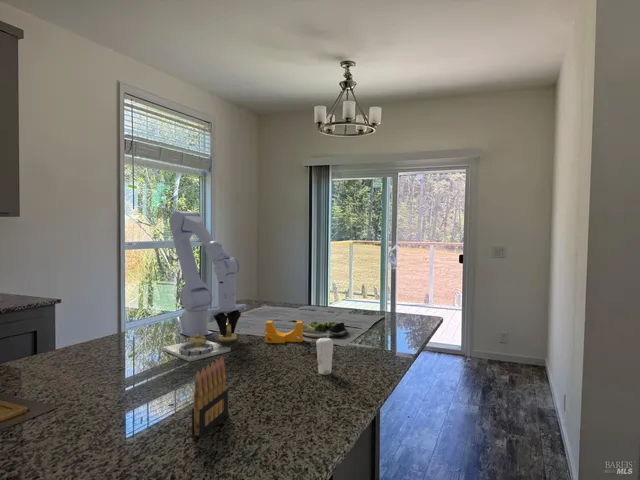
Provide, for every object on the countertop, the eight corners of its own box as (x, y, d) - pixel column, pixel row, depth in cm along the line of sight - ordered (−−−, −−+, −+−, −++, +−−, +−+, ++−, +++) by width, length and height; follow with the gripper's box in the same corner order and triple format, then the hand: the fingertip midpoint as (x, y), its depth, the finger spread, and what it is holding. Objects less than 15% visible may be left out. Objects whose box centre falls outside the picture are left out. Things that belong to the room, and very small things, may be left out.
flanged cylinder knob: (214, 339, 146) (214, 323, 146) (229, 336, 150) (229, 320, 150) (225, 343, 142) (224, 326, 142) (240, 339, 146) (239, 323, 146)
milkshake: (336, 370, 115) (336, 332, 115) (330, 376, 110) (330, 337, 110) (320, 368, 117) (320, 331, 117) (313, 374, 112) (313, 336, 112)
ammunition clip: (220, 412, 89) (219, 354, 89) (228, 413, 89) (228, 355, 89) (191, 436, 79) (190, 371, 79) (200, 437, 79) (199, 372, 78)
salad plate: (295, 341, 145) (295, 327, 145) (290, 329, 163) (290, 316, 163) (351, 339, 148) (351, 325, 148) (340, 327, 166) (340, 315, 166)
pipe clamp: (265, 343, 142) (265, 323, 142) (267, 339, 147) (267, 320, 146) (301, 343, 142) (301, 324, 141) (302, 340, 146) (302, 321, 146)
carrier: (162, 350, 134) (162, 337, 133) (202, 341, 144) (202, 329, 144) (189, 361, 123) (189, 347, 122) (230, 351, 133) (230, 338, 133)
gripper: (215, 298, 137) (215, 340, 138) (251, 292, 148) (251, 332, 148) (203, 295, 142) (203, 336, 143) (239, 290, 153) (239, 328, 153)
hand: (227, 334), depth 146 cm, fingers closed on flanged cylinder knob, 3 cm apart
